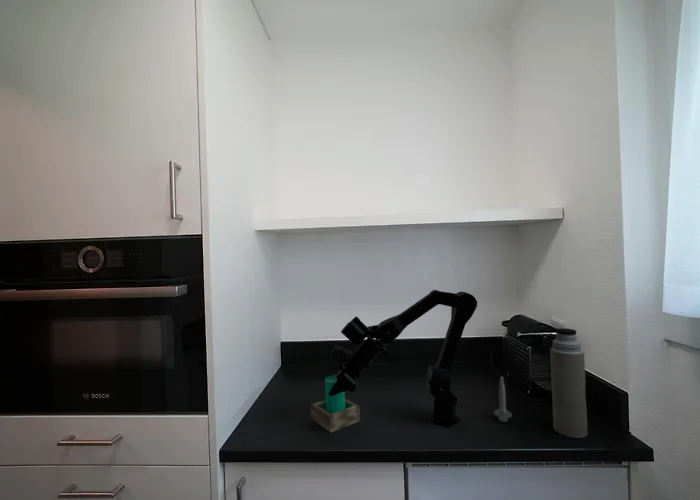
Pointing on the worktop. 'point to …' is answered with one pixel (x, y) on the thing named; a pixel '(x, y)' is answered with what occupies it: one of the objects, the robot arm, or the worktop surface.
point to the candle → (335, 401)
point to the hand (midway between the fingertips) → (330, 391)
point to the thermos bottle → (568, 384)
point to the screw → (502, 404)
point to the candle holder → (335, 415)
